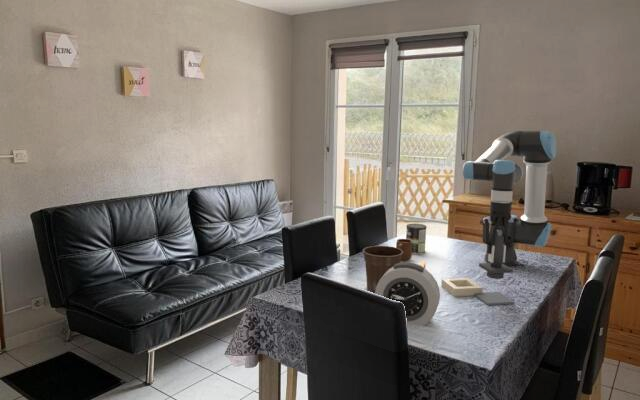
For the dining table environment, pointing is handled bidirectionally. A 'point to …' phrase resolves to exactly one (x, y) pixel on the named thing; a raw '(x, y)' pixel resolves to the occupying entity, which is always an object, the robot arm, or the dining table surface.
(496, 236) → the plug
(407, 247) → the mug
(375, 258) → the plant pot
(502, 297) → the mat
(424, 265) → the orange lever handle
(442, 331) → the dining table surface
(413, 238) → the coffee can
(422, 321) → the alarm clock
